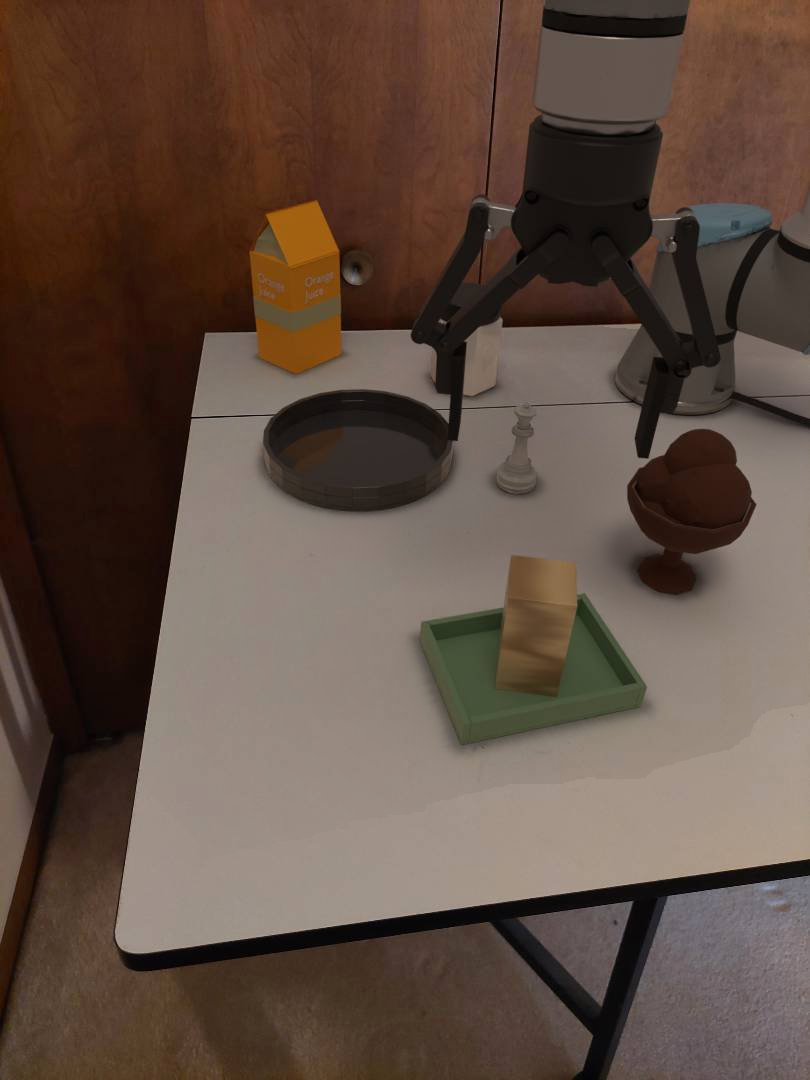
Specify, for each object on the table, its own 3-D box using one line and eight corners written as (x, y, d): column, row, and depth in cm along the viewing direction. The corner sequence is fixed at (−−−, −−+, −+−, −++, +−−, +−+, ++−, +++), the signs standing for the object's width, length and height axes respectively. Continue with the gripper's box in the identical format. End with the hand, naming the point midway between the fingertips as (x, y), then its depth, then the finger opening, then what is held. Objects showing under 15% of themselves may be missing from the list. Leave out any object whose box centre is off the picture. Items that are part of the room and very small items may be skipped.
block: (556, 652, 68) (576, 562, 62) (556, 697, 64) (577, 605, 58) (497, 644, 68) (511, 554, 62) (494, 689, 64) (508, 597, 58)
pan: (459, 420, 99) (461, 398, 97) (440, 521, 82) (442, 498, 81) (292, 403, 101) (291, 381, 99) (240, 499, 85) (238, 475, 83)
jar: (462, 403, 102) (469, 313, 95) (417, 380, 107) (421, 293, 99) (507, 382, 107) (518, 295, 100) (463, 361, 112) (470, 276, 104)
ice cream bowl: (586, 555, 79) (616, 422, 70) (677, 530, 83) (717, 401, 73) (653, 626, 71) (696, 487, 62) (750, 595, 75) (804, 460, 66)
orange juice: (342, 354, 112) (339, 206, 100) (295, 374, 107) (286, 220, 95) (304, 337, 116) (296, 192, 104) (257, 356, 111) (243, 206, 99)
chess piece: (509, 498, 86) (521, 416, 80) (488, 477, 89) (497, 397, 83) (543, 488, 88) (556, 407, 82) (520, 468, 91) (532, 389, 85)
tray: (580, 612, 72) (585, 593, 71) (641, 706, 64) (647, 686, 63) (419, 641, 69) (420, 621, 67) (461, 745, 61) (463, 724, 59)
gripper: (808, 116, 47) (713, 428, 60) (389, 93, 49) (386, 400, 63) (846, 146, 41) (731, 485, 55) (368, 119, 43) (369, 451, 57)
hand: (546, 440), depth 59 cm, fingers open, 13 cm apart
